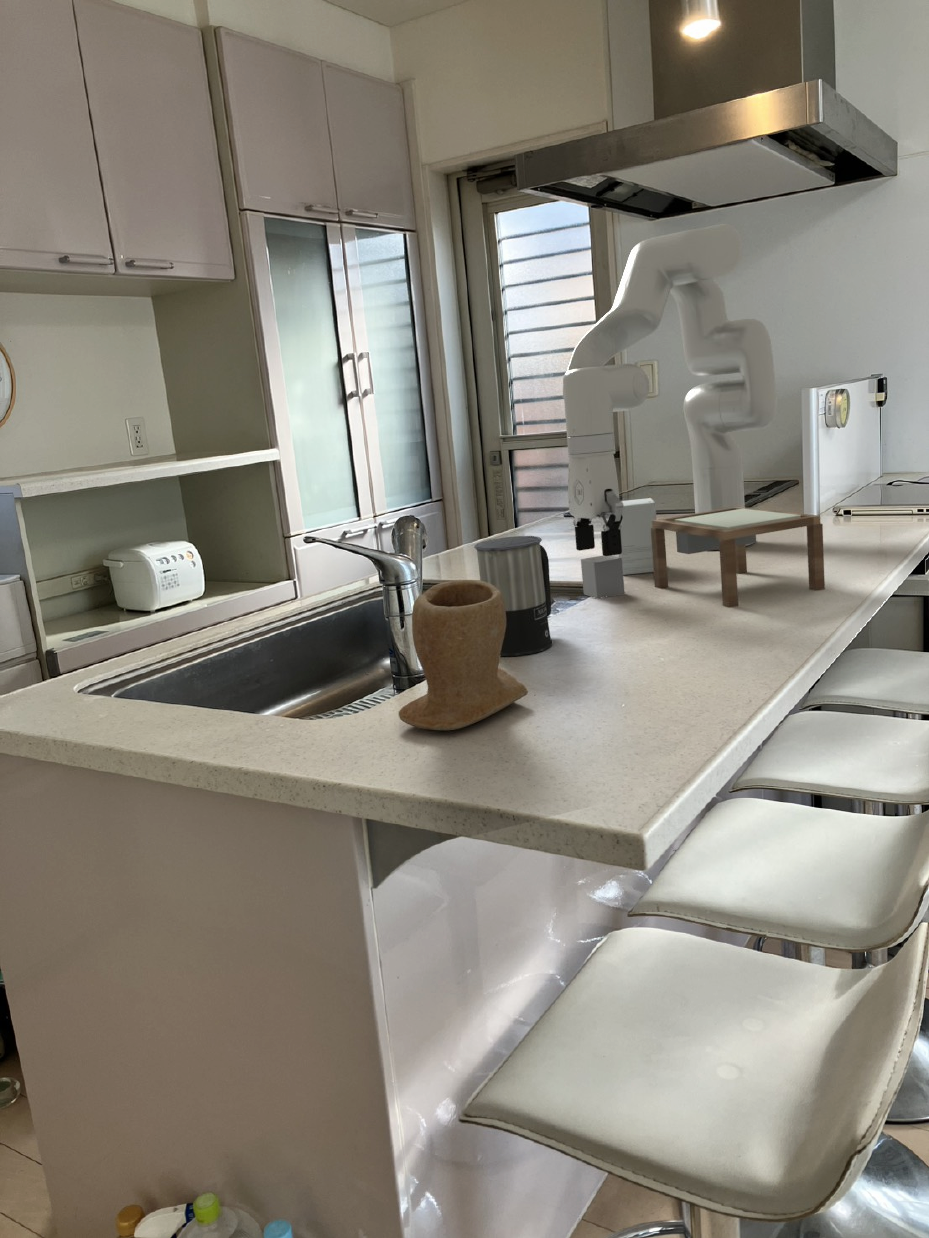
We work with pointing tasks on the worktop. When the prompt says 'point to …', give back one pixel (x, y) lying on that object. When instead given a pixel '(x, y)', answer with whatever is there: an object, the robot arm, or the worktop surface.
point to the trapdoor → (725, 527)
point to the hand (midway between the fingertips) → (598, 552)
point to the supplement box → (637, 536)
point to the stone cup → (460, 656)
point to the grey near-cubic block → (602, 576)
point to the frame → (738, 548)
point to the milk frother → (519, 590)
